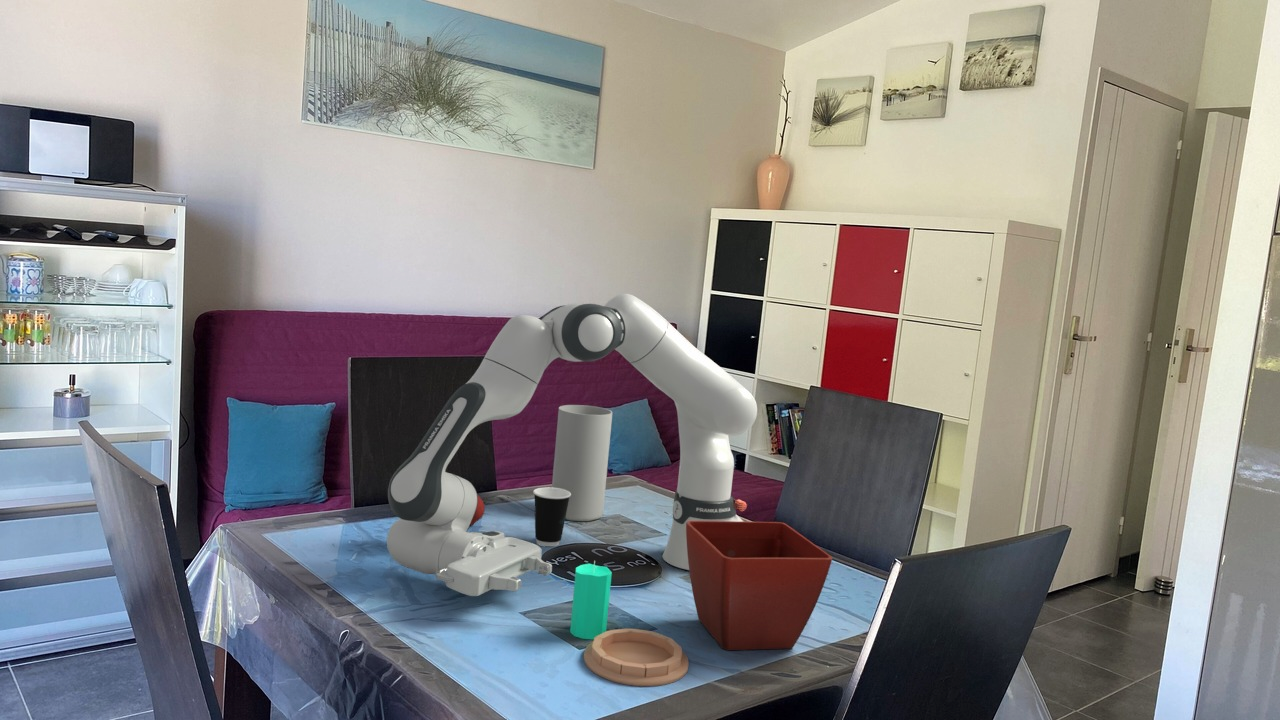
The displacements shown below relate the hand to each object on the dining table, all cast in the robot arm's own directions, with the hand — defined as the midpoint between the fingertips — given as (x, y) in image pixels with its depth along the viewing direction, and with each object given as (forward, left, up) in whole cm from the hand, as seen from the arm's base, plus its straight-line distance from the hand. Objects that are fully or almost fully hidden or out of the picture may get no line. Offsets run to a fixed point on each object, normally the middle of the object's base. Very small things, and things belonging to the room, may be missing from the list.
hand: (534, 577), depth 154 cm
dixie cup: (-16, -35, -7) cm, 39 cm away
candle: (-7, +9, -7) cm, 13 cm away
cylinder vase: (-30, -54, -7) cm, 62 cm away
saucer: (-10, +21, -6) cm, 24 cm away
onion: (-3, -49, -7) cm, 50 cm away
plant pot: (-33, +16, -7) cm, 37 cm away
